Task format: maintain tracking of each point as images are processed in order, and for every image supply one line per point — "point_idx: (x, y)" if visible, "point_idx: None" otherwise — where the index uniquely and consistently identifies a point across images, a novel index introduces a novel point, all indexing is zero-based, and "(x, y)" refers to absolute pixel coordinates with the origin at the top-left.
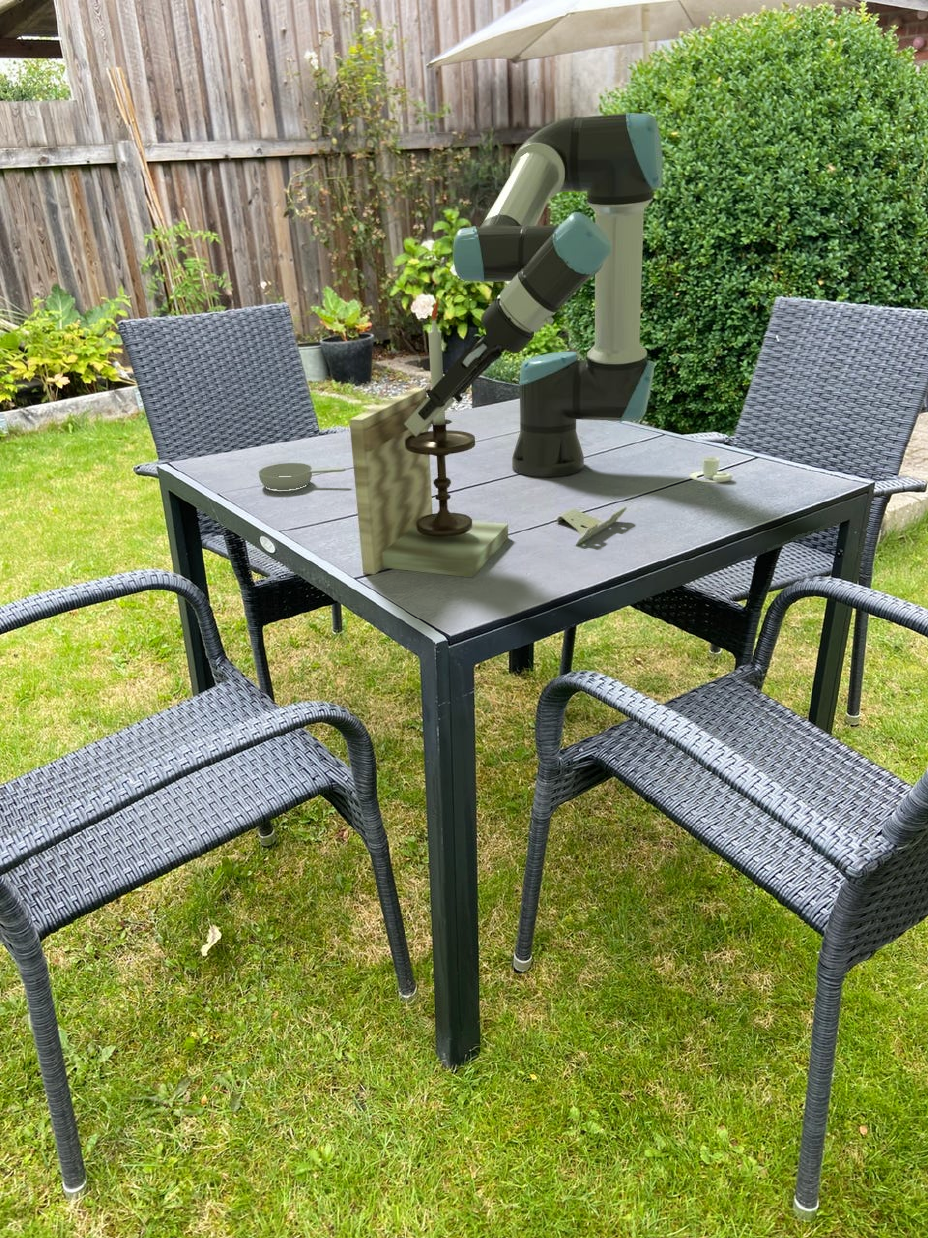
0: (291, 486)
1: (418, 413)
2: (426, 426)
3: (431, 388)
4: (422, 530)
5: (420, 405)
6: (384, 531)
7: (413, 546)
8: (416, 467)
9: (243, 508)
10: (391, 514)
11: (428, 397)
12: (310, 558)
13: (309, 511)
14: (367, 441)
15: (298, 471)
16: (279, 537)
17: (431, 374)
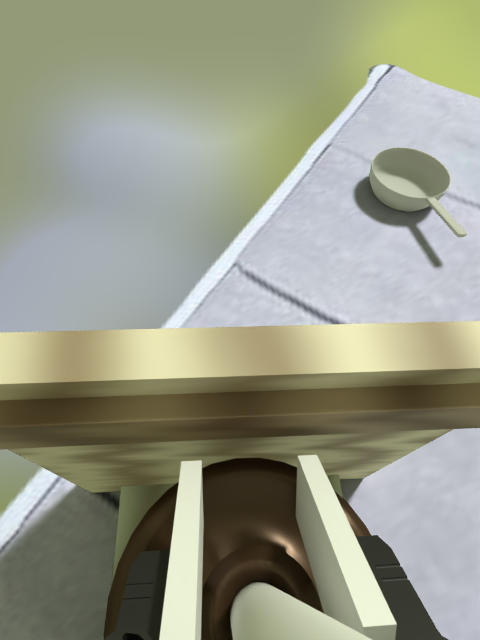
0: (385, 200)
1: (137, 558)
2: (297, 514)
3: (251, 607)
4: None
5: (171, 552)
6: (133, 478)
7: None
8: (335, 449)
9: (296, 188)
10: (169, 472)
11: (163, 623)
12: None
13: (324, 260)
14: None
15: (439, 181)
16: (212, 274)
17: (252, 636)
